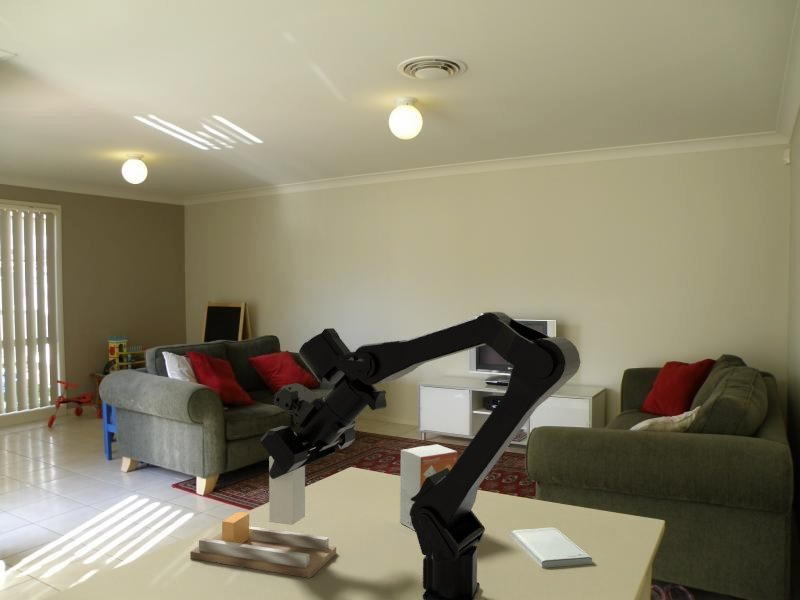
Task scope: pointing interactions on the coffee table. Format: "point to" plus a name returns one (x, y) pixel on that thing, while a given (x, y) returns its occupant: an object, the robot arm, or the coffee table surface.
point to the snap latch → (236, 528)
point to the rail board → (269, 551)
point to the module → (287, 496)
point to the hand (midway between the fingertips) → (279, 472)
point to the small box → (420, 473)
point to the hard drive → (550, 547)
